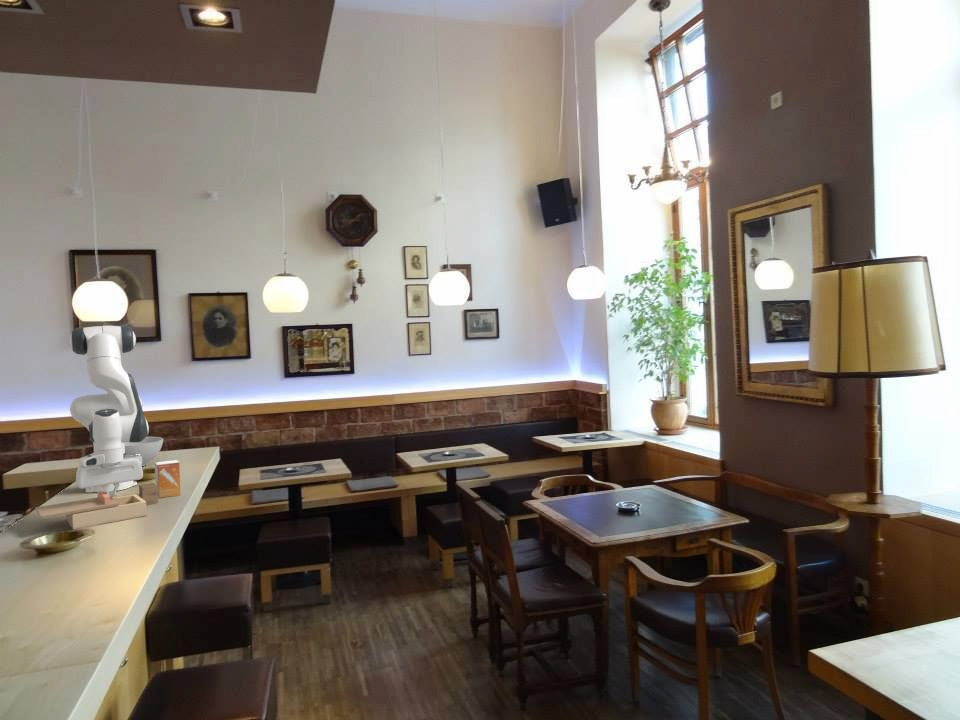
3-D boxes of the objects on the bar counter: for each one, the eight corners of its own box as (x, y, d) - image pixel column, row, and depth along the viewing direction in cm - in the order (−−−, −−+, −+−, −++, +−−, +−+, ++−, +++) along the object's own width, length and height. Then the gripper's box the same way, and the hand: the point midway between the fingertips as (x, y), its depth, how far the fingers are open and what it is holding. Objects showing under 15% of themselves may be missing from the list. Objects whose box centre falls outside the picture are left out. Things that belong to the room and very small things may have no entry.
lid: (35, 509, 225) (34, 500, 225) (109, 497, 239) (108, 488, 239) (41, 518, 214) (40, 508, 213) (118, 505, 228) (118, 496, 227)
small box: (158, 498, 258) (156, 464, 257) (156, 495, 263) (154, 462, 262) (181, 495, 262) (179, 461, 261) (178, 492, 267) (176, 459, 267)
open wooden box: (65, 520, 231) (65, 505, 231) (136, 507, 245) (135, 494, 244) (73, 529, 219) (72, 514, 219) (146, 515, 233) (146, 501, 233)
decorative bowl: (106, 464, 331) (105, 439, 330) (166, 458, 340) (165, 434, 340) (97, 474, 306) (95, 448, 305) (162, 468, 315) (160, 443, 315)
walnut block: (139, 503, 251) (138, 484, 251) (154, 501, 254) (153, 482, 254) (143, 506, 247) (142, 487, 247) (157, 503, 250) (156, 484, 250)
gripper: (139, 451, 241) (141, 489, 242) (73, 460, 228) (76, 500, 229) (144, 453, 236) (146, 492, 237) (76, 462, 223) (79, 504, 224)
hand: (111, 496), depth 233 cm, fingers closed
